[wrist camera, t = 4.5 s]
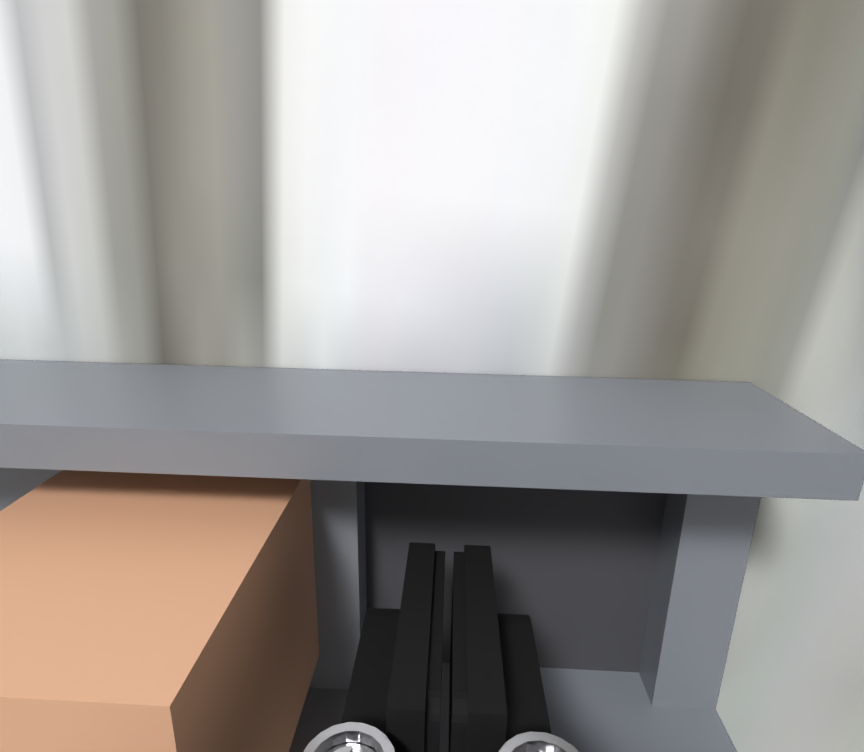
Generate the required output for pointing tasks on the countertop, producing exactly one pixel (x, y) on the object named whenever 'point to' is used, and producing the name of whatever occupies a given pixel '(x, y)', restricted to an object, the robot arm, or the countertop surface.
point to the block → (156, 613)
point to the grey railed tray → (478, 507)
